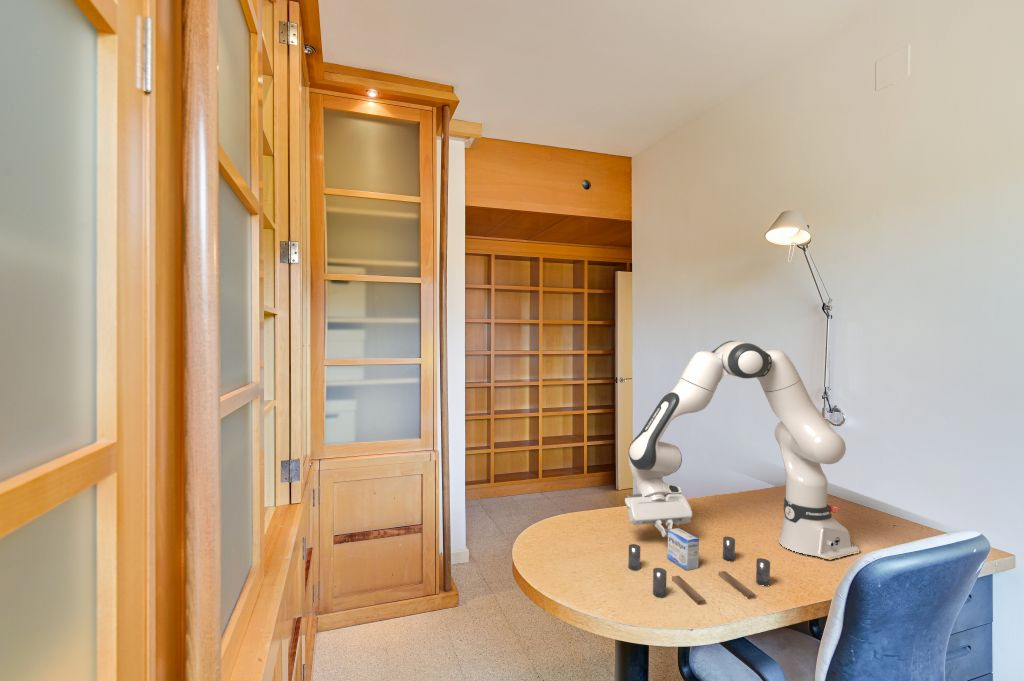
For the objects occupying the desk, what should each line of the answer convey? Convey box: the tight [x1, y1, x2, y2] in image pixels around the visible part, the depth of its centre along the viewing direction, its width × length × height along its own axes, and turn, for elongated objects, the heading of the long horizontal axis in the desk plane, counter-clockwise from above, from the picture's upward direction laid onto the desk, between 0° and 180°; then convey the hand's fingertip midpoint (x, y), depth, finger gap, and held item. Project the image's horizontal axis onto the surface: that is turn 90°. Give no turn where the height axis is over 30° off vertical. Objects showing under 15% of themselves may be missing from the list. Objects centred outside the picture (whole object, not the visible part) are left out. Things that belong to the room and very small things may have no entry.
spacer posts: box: [627, 536, 771, 599], centre depth 132 cm, size 33×17×6 cm, turn 102°
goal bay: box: [671, 570, 757, 606], centre depth 125 cm, size 16×12×1 cm
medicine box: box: [666, 527, 700, 572], centre depth 139 cm, size 8×4×9 cm, turn 25°
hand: (668, 536), depth 147 cm, fingers closed
